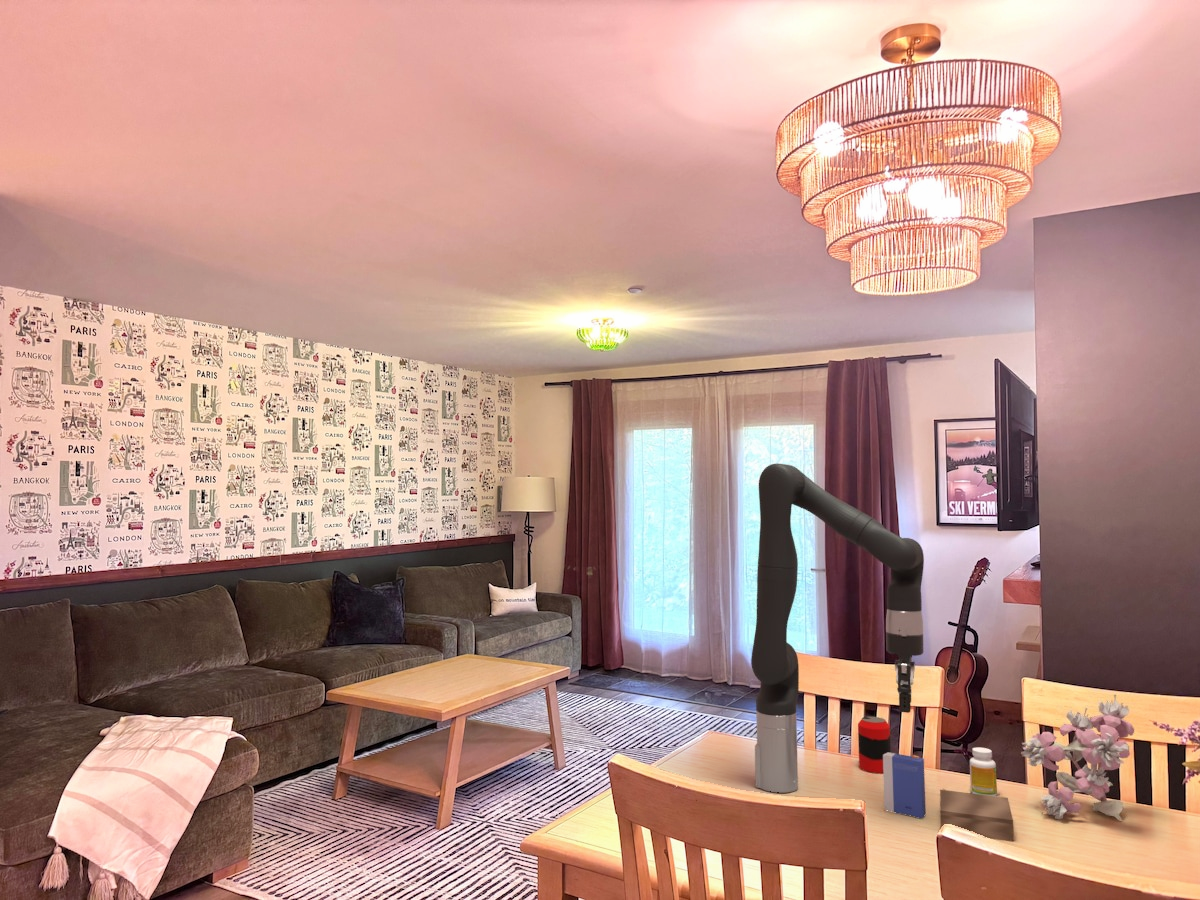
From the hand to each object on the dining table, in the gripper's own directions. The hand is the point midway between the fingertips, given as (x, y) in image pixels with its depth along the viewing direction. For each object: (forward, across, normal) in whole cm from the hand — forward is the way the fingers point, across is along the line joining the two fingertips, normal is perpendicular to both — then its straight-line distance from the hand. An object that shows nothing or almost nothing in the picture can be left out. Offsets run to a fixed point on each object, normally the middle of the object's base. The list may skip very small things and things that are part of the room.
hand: (905, 707), depth 171 cm
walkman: (+22, +1, 0) cm, 22 cm away
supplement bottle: (+22, -18, +16) cm, 33 cm away
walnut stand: (+22, +2, +13) cm, 25 cm away
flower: (+22, -11, +34) cm, 42 cm away
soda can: (+22, -27, -8) cm, 36 cm away
